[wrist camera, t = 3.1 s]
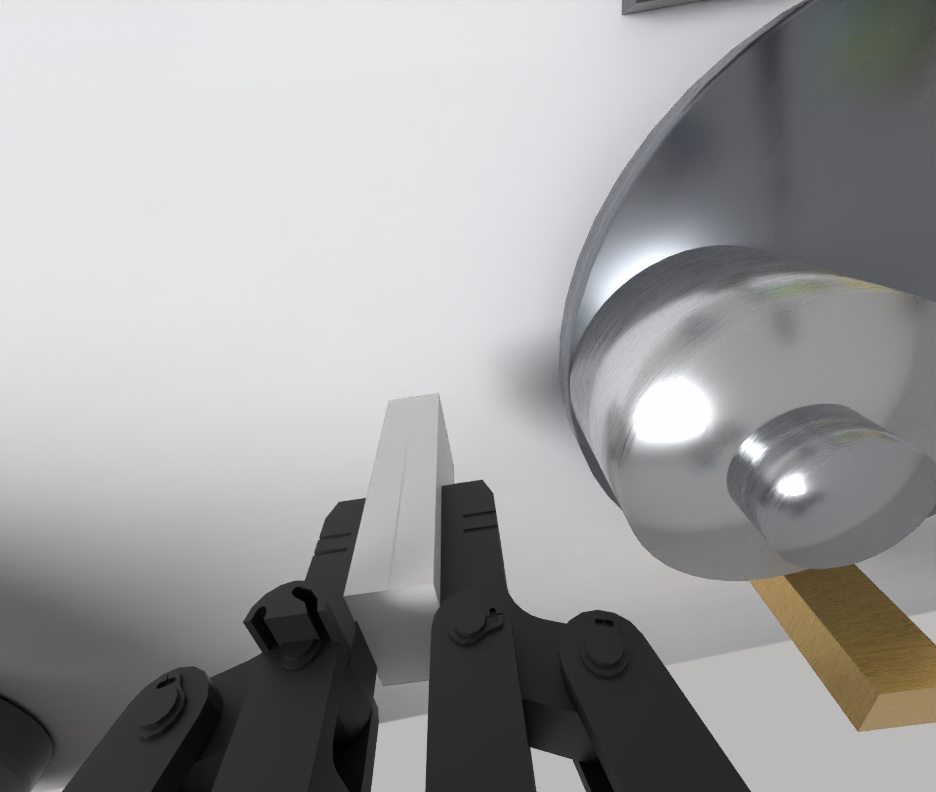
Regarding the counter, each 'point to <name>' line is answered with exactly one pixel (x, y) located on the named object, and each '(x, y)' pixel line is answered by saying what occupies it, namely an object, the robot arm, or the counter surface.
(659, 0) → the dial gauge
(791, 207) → the turntable
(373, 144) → the counter surface
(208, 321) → the counter surface
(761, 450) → the cover
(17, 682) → the counter surface
